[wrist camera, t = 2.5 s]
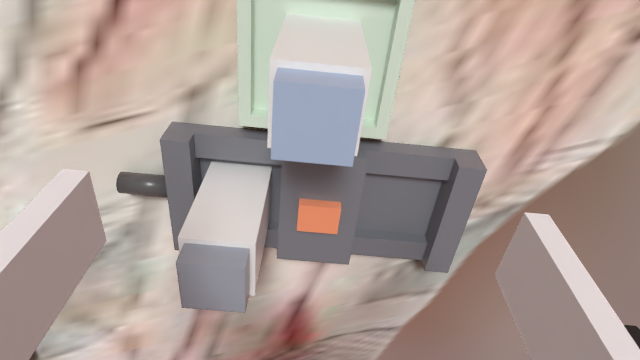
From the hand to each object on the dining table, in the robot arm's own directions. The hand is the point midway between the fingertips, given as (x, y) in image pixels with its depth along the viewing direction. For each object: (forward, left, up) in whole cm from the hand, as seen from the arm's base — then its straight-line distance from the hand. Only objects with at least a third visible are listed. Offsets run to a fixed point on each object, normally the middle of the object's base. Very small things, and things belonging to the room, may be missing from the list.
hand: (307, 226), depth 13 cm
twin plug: (+11, -5, -16) cm, 20 cm away
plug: (0, 0, -16) cm, 16 cm away
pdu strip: (+11, -1, -17) cm, 20 cm away
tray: (0, 0, -17) cm, 17 cm away
